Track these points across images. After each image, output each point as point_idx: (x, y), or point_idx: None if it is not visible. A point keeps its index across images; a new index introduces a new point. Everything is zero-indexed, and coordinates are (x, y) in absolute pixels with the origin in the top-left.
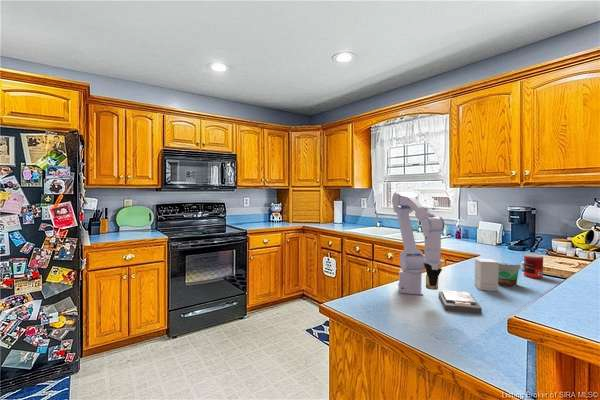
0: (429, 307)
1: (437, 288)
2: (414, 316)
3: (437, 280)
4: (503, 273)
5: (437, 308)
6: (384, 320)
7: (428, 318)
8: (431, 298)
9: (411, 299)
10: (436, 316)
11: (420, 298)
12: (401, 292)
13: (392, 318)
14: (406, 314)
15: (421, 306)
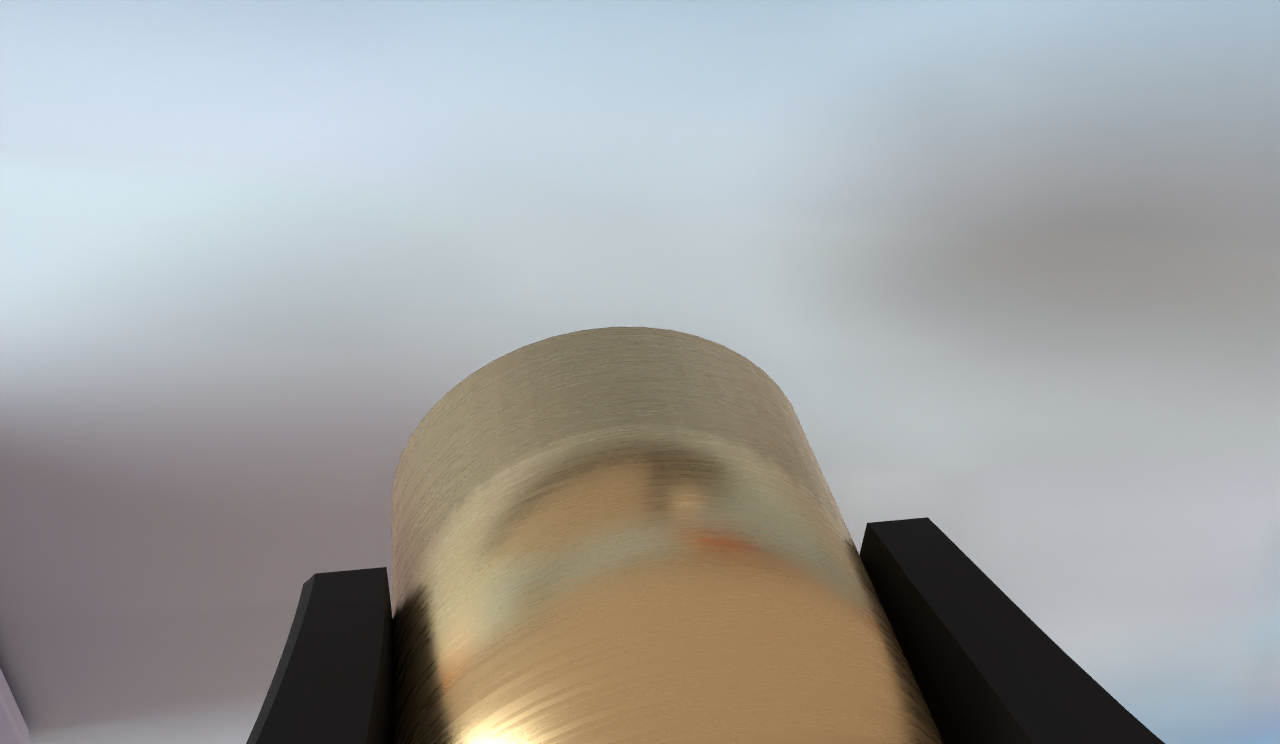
0: (733, 254)
1: (749, 374)
2: (1172, 480)
3: (863, 628)
4: None
5: (767, 94)
6: (1254, 733)
7: (1275, 300)
8: (11, 165)
9: (332, 549)
10: (1208, 164)
11: (168, 405)
12: (23, 730)
13: (1209, 682)
14: (1090, 570)
15: None
